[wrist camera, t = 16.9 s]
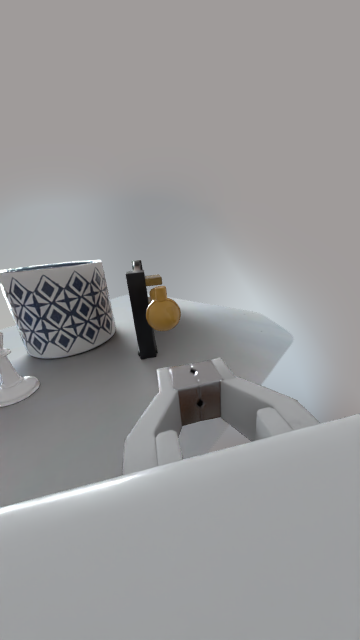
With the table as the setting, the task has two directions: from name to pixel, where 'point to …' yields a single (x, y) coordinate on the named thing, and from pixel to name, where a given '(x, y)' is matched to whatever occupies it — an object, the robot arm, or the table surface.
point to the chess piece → (13, 380)
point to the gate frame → (142, 310)
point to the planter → (59, 307)
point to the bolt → (162, 310)
